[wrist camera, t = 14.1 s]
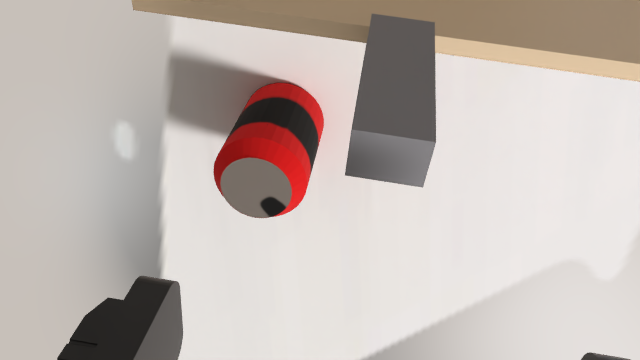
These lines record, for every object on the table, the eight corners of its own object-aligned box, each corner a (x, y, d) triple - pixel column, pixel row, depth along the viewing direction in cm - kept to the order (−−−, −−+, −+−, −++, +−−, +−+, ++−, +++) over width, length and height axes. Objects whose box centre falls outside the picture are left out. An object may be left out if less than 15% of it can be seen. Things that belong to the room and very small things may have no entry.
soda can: (281, 164, 55) (254, 241, 45) (230, 109, 52) (188, 178, 42) (340, 126, 51) (324, 199, 41) (288, 65, 49) (258, 128, 39)
